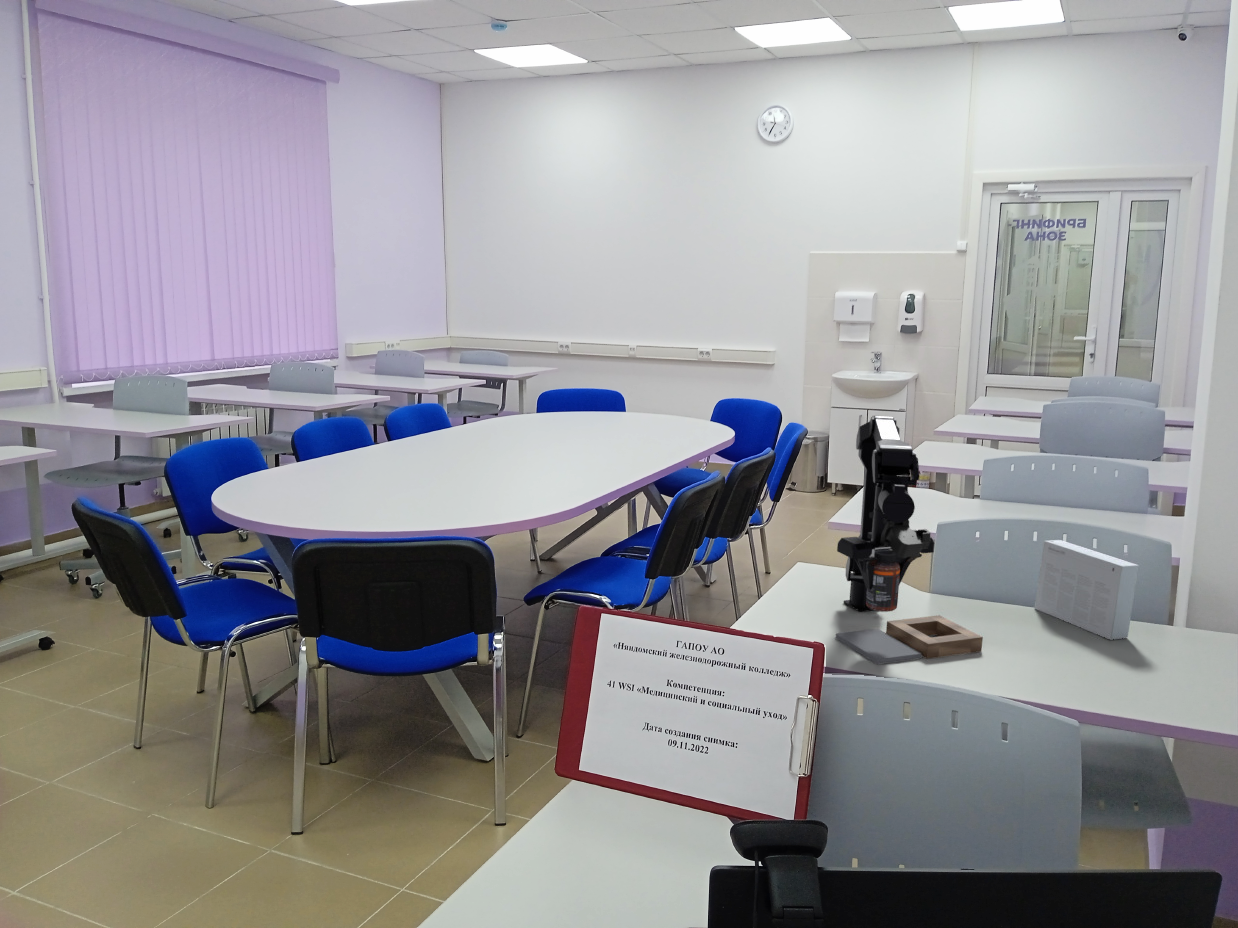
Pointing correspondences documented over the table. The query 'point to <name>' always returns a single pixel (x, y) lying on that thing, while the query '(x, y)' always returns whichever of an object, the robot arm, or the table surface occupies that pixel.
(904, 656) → the rubber mat
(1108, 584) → the skincare box
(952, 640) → the collar block
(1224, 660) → the table surface
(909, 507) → the robot arm
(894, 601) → the supplement bottle
